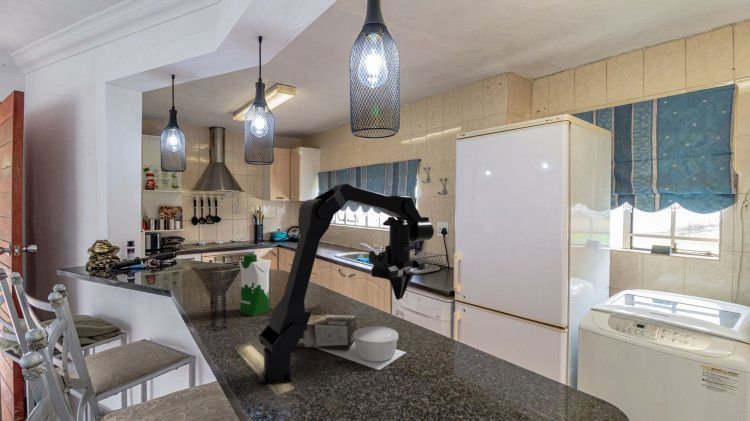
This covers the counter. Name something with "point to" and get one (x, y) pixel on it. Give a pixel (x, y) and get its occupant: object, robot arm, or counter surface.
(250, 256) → the milk carton
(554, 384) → the counter surface
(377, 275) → the robot arm
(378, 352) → the ramekin
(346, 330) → the coffee box
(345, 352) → the panel
